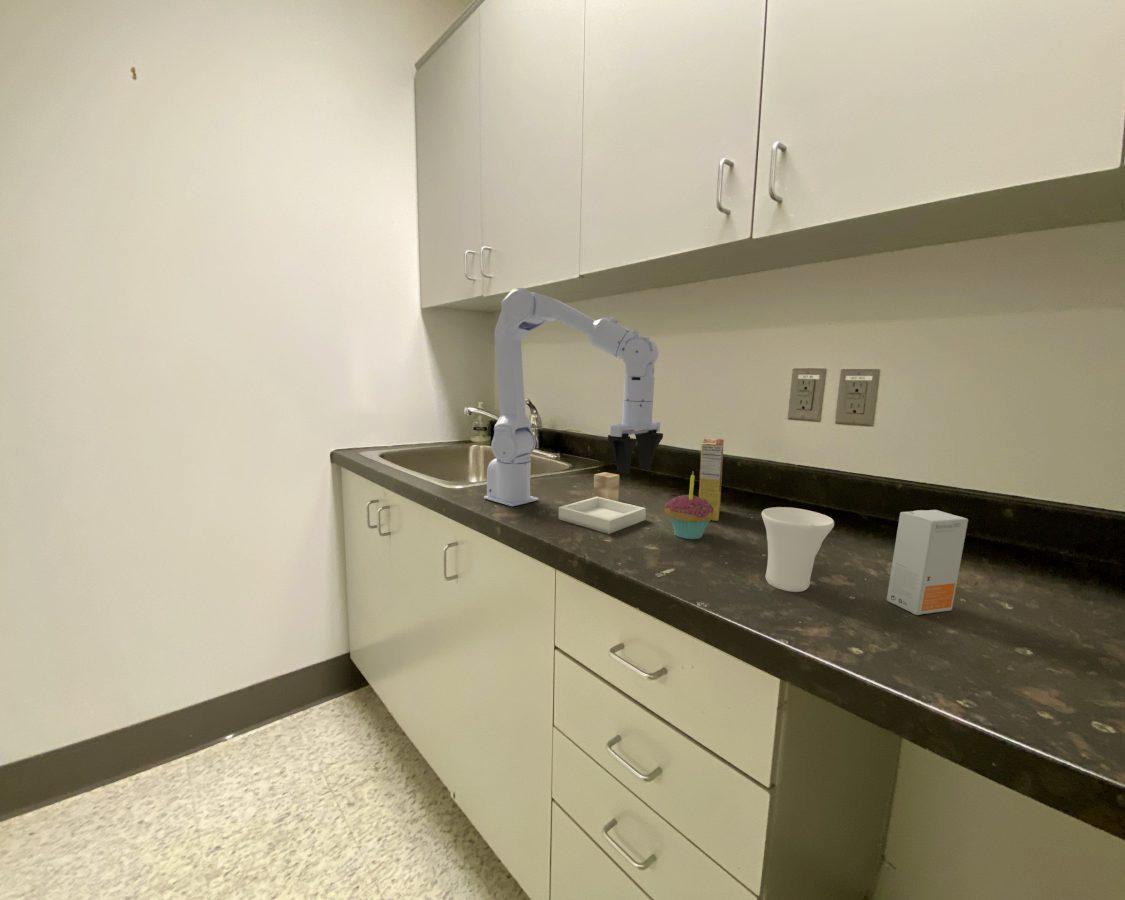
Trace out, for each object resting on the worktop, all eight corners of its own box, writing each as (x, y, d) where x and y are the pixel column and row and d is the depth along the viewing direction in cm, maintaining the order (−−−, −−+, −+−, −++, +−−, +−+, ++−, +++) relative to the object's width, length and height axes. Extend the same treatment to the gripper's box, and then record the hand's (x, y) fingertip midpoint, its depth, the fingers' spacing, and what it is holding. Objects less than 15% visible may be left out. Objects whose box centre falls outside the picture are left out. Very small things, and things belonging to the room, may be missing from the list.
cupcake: (715, 544, 81) (721, 475, 79) (664, 540, 82) (668, 472, 81) (708, 529, 90) (713, 465, 88) (662, 525, 91) (666, 463, 89)
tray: (558, 519, 93) (558, 507, 93) (596, 507, 102) (596, 496, 101) (608, 534, 85) (609, 520, 85) (645, 520, 94) (645, 508, 94)
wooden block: (593, 500, 107) (594, 474, 106) (603, 497, 110) (604, 472, 109) (607, 504, 105) (608, 477, 104) (618, 501, 108) (619, 474, 107)
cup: (765, 596, 62) (772, 522, 61) (748, 568, 71) (754, 503, 70) (838, 602, 61) (848, 527, 60) (811, 573, 70) (819, 507, 69)
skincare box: (917, 617, 58) (932, 521, 56) (885, 601, 62) (898, 511, 60) (954, 611, 60) (970, 518, 58) (920, 596, 64) (934, 508, 62)
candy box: (699, 507, 104) (704, 437, 102) (720, 510, 103) (725, 439, 100) (695, 519, 96) (701, 443, 93) (718, 521, 94) (724, 444, 92)
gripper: (634, 403, 85) (630, 478, 87) (675, 401, 95) (670, 468, 97) (602, 400, 89) (599, 472, 91) (644, 399, 100) (641, 463, 102)
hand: (634, 470), depth 95 cm, fingers open, 7 cm apart
